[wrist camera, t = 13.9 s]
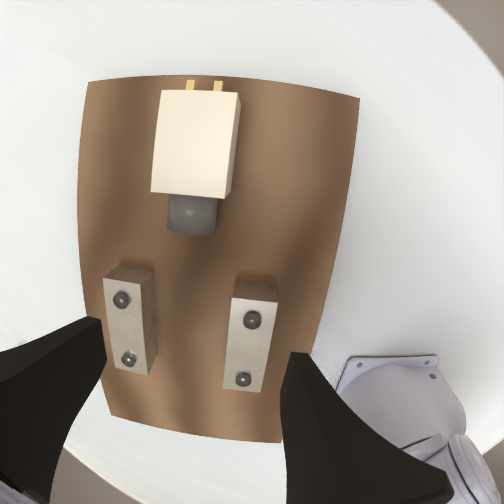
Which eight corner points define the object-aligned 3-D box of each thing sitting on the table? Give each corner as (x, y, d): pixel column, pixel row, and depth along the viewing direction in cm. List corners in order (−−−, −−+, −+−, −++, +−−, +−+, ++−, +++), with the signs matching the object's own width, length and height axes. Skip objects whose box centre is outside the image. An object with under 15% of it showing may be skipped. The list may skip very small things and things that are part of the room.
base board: (354, 101, 15) (359, 98, 14) (280, 435, 24) (280, 443, 23) (95, 84, 15) (88, 82, 14) (114, 408, 24) (111, 414, 23)
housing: (275, 283, 18) (278, 305, 15) (260, 369, 20) (260, 395, 17) (120, 263, 18) (100, 279, 15) (127, 347, 20) (114, 370, 17)
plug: (227, 225, 17) (220, 240, 14) (167, 219, 17) (148, 232, 14) (243, 92, 14) (239, 76, 11) (180, 89, 14) (164, 74, 11)
